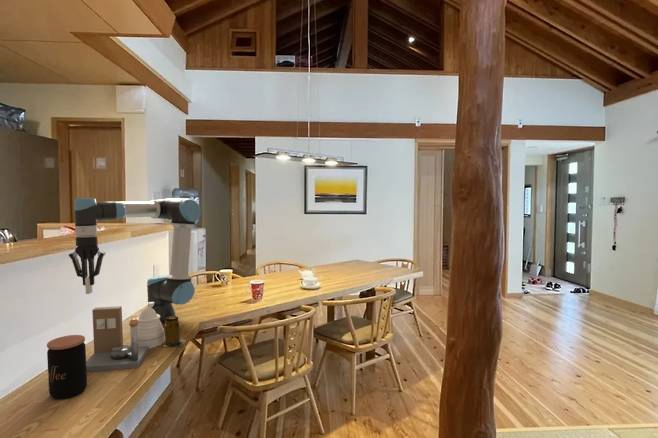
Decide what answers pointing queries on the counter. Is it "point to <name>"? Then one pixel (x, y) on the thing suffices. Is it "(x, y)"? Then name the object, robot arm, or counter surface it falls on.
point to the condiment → (172, 332)
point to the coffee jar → (67, 366)
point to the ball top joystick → (128, 350)
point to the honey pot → (149, 328)
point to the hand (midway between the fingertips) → (89, 292)
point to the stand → (110, 341)
